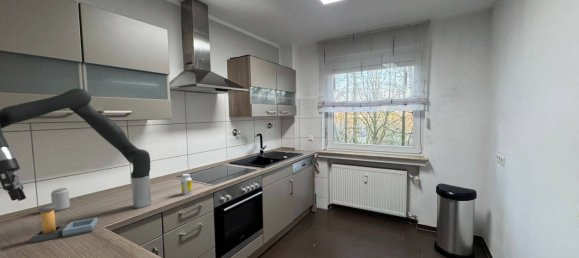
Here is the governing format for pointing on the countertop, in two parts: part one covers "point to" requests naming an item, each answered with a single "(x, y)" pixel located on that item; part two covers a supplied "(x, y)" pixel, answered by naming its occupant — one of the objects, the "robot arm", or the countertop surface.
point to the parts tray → (80, 227)
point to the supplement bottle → (186, 184)
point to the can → (60, 198)
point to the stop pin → (48, 219)
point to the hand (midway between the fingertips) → (19, 199)
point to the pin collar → (48, 234)
